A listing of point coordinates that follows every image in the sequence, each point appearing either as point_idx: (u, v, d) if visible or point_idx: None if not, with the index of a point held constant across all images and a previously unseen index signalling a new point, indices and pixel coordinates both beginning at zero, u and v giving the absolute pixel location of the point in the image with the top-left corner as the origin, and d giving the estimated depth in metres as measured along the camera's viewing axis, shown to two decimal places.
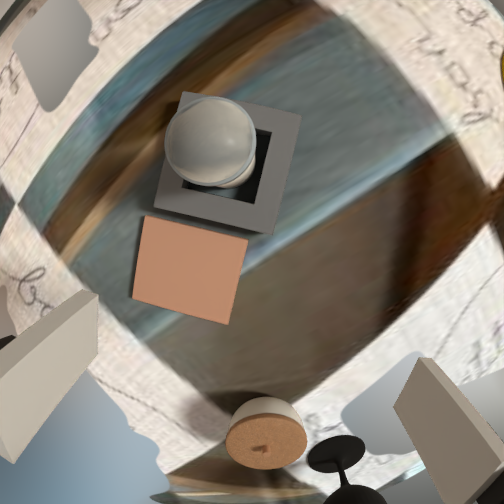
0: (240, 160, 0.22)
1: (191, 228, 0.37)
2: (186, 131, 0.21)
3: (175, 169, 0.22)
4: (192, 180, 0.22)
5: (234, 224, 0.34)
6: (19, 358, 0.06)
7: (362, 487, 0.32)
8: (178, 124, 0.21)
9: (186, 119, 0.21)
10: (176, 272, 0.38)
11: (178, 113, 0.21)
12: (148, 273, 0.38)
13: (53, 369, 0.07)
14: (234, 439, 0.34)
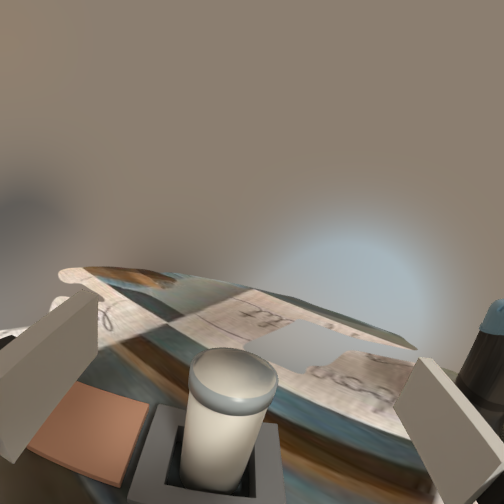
0: (219, 389, 0.20)
1: (134, 436, 0.27)
2: (239, 359, 0.24)
3: (203, 351, 0.24)
4: (194, 360, 0.23)
5: (139, 464, 0.22)
6: (19, 358, 0.06)
7: None
8: (244, 355, 0.25)
9: (250, 359, 0.25)
10: (89, 417, 0.28)
11: (254, 355, 0.25)
12: (92, 396, 0.31)
13: (53, 369, 0.07)
14: None
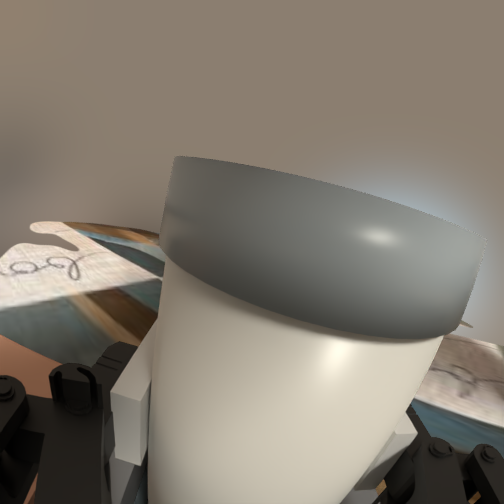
0: None
1: None
2: None
3: None
4: None
5: None
6: None
7: None
8: None
9: None
10: None
11: None
12: (11, 357, 0.15)
13: None
14: None
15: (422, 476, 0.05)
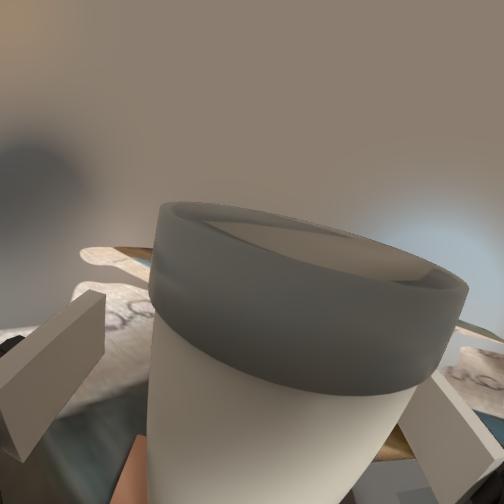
0: (288, 251, 0.04)
1: None
2: (315, 227, 0.09)
3: None
4: (180, 203, 0.07)
5: None
6: (30, 358, 0.06)
7: None
8: (324, 227, 0.09)
9: (343, 233, 0.09)
10: None
11: (347, 233, 0.10)
12: None
13: (62, 368, 0.07)
14: None
15: None
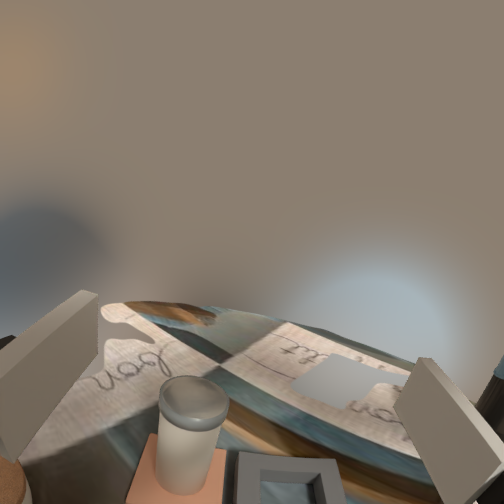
0: (179, 410, 0.25)
1: (222, 481, 0.31)
2: (200, 386, 0.29)
3: (172, 378, 0.29)
4: (163, 385, 0.28)
5: None
6: (19, 358, 0.06)
7: None
8: (205, 383, 0.30)
9: (209, 387, 0.29)
10: None
11: (214, 383, 0.30)
12: None
13: (53, 369, 0.07)
14: None
15: None
